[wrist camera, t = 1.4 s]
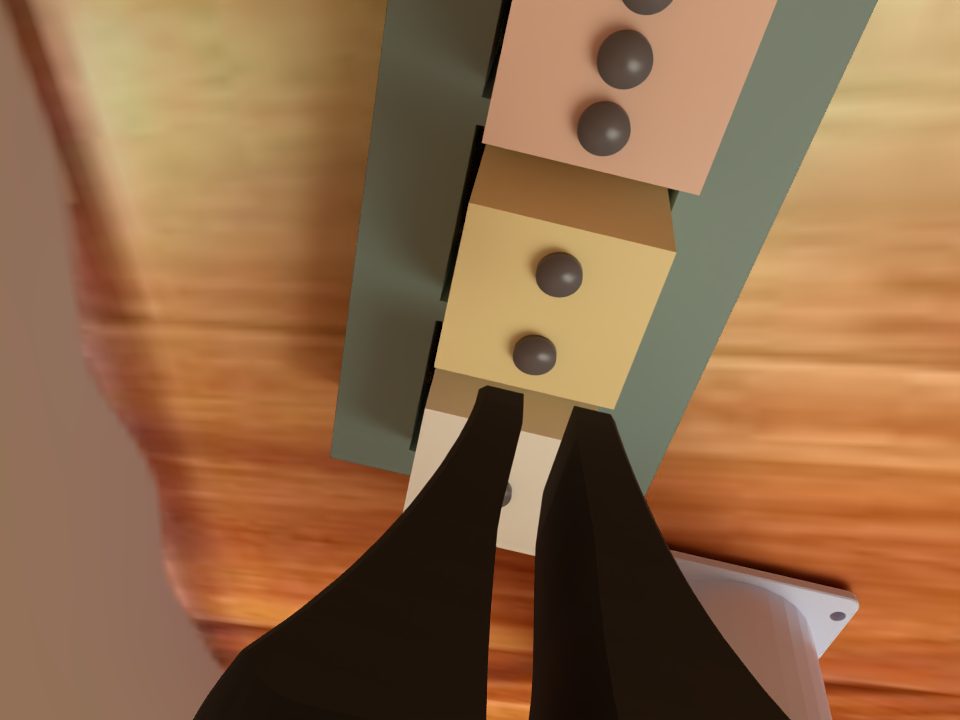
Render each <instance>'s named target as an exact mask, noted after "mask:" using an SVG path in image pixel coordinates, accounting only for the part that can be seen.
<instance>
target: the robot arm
mask: <svg viewBox="0 0 960 720" xmlns="http://www.w3.org/2000/svg"><path fill="white" fill-rule="evenodd" d="M523 409H524V394H523V393H518V392H514V391H510V390H506V389H501V388H497V387H493V386H489V385H487V386H484V387H482V388H480V389H479V390H478V394H477V398H476V402H475V404H474V407H473V409H472V412H471V414H470V416H469V418H468V420H467V422H466V424H465V426H464V428H463V429H462V431H461V433H460V435H459V437H458V438H457V440H456V441H455V443H454V444H453V446H452V448H451V449H450V451H449V452H448V454H447V455H446V457H445V458H444V460H443V462H442V463H441V465H440V466H439V467H438V469H437V470H436V472H435V473H434V474H433V476H432V477H431V478H430V480H429V481H428V482H427V483H426V485H425V486H424V487H423V489H422V490H421V491H420V493H419V494H418V495H417V497H416V498H415V499H414V500H413V502H412V503H411V504H410V505H409V506H408V508H407V509H406V510H405V511H404V512H403V513H402V515H401V516H400V517H399V518H398V519H397V520H396V521H395V522H394V524H393V525H392V526H391V527H390V528H389V529H388V530H387V531H386V532H385V533H384V534H383V535H382V536H381V537H380V539H379V540H378V541H377V542H376V543H375V544H373V545H372V546H371V547H370V548H369V549H368V550H367V551H366V552H365V553H364V554H363V555H362V556H361V557H360V558H359V559H358V560H357V561H356V562H355V563H354V564H353V565H352V566H351V567H350V568H349V569H347V570H346V571H345V572H344V573H343V574H342V575H341V576H340V577H339V578H337V579H336V580H335V581H334V582H332V583H331V584H330V585H329V586H328V587H326V588H325V589H324V590H323V591H321V592H320V593H319V594H318V595H317V596H315V597H314V598H313V599H312V600H311V601H309V602H308V603H307V604H306V605H304V606H303V607H302V608H301V609H299V610H298V611H297V612H295V613H294V614H293V615H291V616H290V617H289V618H287V619H286V620H284V621H283V622H282V623H280V624H279V625H277V626H276V627H274V628H273V629H272V630H270V631H269V632H267V633H266V634H264V635H263V636H261V637H260V638H259V639H257V640H256V641H254V642H253V643H251V644H250V645H248V646H247V647H246V648H244V649H243V650H242V651H241V652H240V653H239V655H238V656H237V657H236V658H235V660H234V661H233V662H232V663H231V665H230V666H229V667H228V669H227V670H226V671H225V672H224V674H223V675H222V676H221V678H220V679H219V680H218V682H217V683H216V685H215V686H214V688H213V689H212V690H211V691H210V693H209V695H208V696H207V698H206V699H205V700H204V702H203V704H202V705H201V707H200V708H199V710H198V712H197V714H196V715H195V717H194V719H193V720H486V706H487V670H488V649H489V631H490V613H491V600H492V587H493V574H494V563H495V552H496V542H497V531H498V525H499V519H500V514H501V508H502V504H503V500H504V496H505V492H506V488H507V484H508V480H509V476H510V472H511V468H512V464H513V460H514V456H515V452H516V448H517V444H518V440H519V436H520V432H521V428H522V424H523ZM858 608H859V603H858V599H857V596H856V595H855V594H854V593H852V592H850V591H847V590H842V589H838V588H834V587H829V586H825V585H821V584H816V583H812V582H808V581H803V580H799V579H795V578H790V577H786V576H782V575H777V574H773V573H769V572H764V571H760V570H756V569H751V568H747V567H743V566H738V565H734V564H730V563H725V562H721V561H717V560H712V559H708V558H704V557H699V556H695V555H691V554H686V553H682V552H678V551H673V550H670V549H669V547H668V546H667V544H666V542H665V540H664V538H663V536H662V534H661V532H660V530H659V528H658V526H657V524H656V522H655V519H654V517H653V515H652V513H651V511H650V509H649V506H648V504H647V502H646V500H645V498H644V496H643V493H642V491H641V489H640V486H639V484H638V482H637V479H636V477H635V474H634V472H633V469H632V467H631V464H630V462H629V459H628V457H627V454H626V451H625V449H624V446H623V443H622V440H621V438H620V435H619V432H618V429H617V426H616V423H615V420H614V419H613V417H612V416H611V414H608V413H604V412H599V411H595V410H591V409H587V408H582V407H578V406H574V407H573V410H572V412H571V415H570V418H569V421H568V423H567V426H566V429H565V432H564V435H563V437H562V440H561V443H560V446H559V449H558V451H557V454H556V457H555V460H554V462H553V465H552V468H551V471H550V474H549V476H548V479H547V482H546V485H545V488H544V490H543V495H542V502H541V509H540V516H539V523H538V530H537V538H536V546H535V582H534V642H533V679H532V696H531V705H530V714H529V720H832V717H831V712H830V708H829V704H828V699H827V695H826V691H825V686H824V682H823V678H822V673H821V669H820V665H819V660H818V659H819V658H820V657H821V656H822V654H823V653H824V652H825V651H826V649H827V648H828V647H829V646H830V644H831V643H832V642H833V641H834V639H835V638H836V637H837V635H838V634H839V633H840V632H841V630H842V629H843V628H844V627H845V625H846V624H847V623H848V622H849V620H850V619H851V618H852V617H853V615H854V614H855V613H856V612H857V610H858Z"/></svg>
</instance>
